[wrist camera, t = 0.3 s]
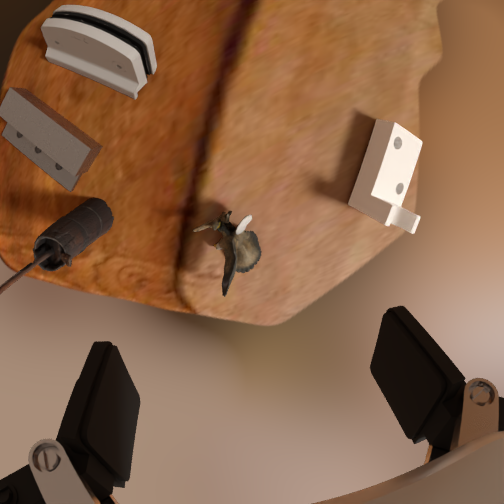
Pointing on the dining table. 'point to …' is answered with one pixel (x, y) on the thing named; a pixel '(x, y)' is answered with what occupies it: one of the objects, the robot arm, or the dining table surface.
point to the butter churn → (68, 237)
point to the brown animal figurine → (234, 246)
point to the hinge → (100, 47)
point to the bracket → (387, 176)
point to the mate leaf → (47, 137)
